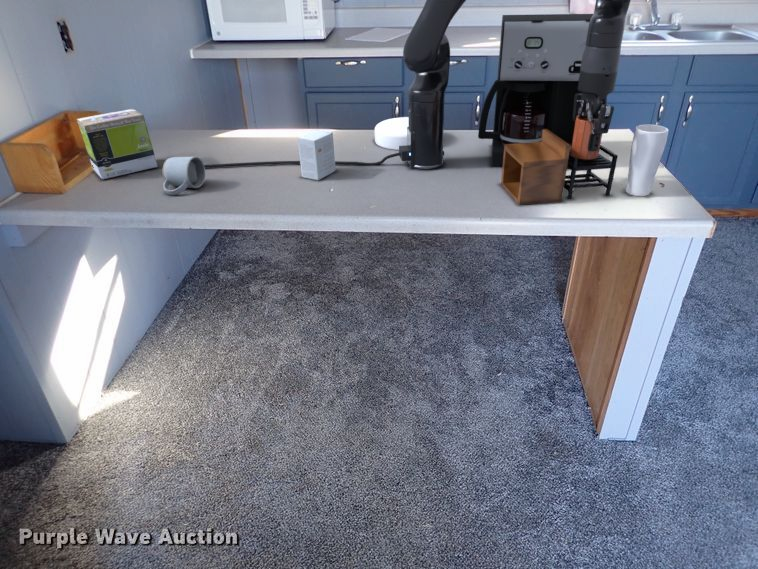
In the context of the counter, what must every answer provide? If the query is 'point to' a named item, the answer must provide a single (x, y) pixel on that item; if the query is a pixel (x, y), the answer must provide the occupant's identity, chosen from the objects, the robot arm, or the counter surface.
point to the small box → (316, 154)
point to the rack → (590, 165)
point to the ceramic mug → (183, 173)
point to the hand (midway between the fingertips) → (585, 145)
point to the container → (392, 133)
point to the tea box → (117, 143)
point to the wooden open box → (536, 169)
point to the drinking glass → (645, 158)
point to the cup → (583, 140)
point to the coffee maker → (535, 79)
